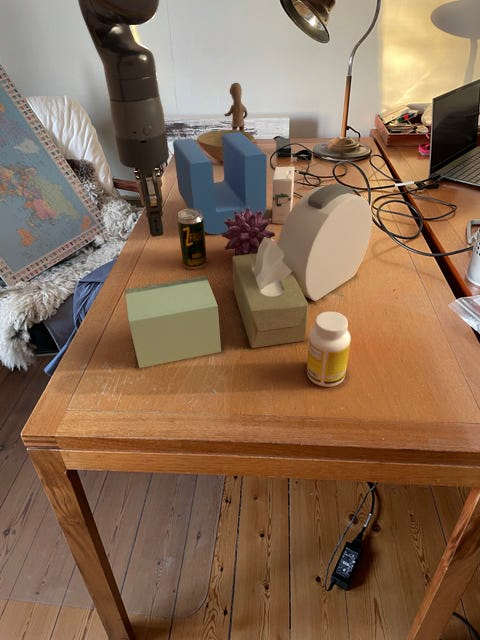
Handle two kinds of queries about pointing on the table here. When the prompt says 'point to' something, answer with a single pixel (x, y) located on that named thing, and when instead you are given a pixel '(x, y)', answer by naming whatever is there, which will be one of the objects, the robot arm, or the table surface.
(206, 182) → the block
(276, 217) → the ink box
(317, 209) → the alarm clock
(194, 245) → the beer can
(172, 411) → the table surface
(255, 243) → the flower
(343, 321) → the pill bottle
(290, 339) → the tissue box
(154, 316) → the pale green open box
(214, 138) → the bowl
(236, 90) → the figurine
